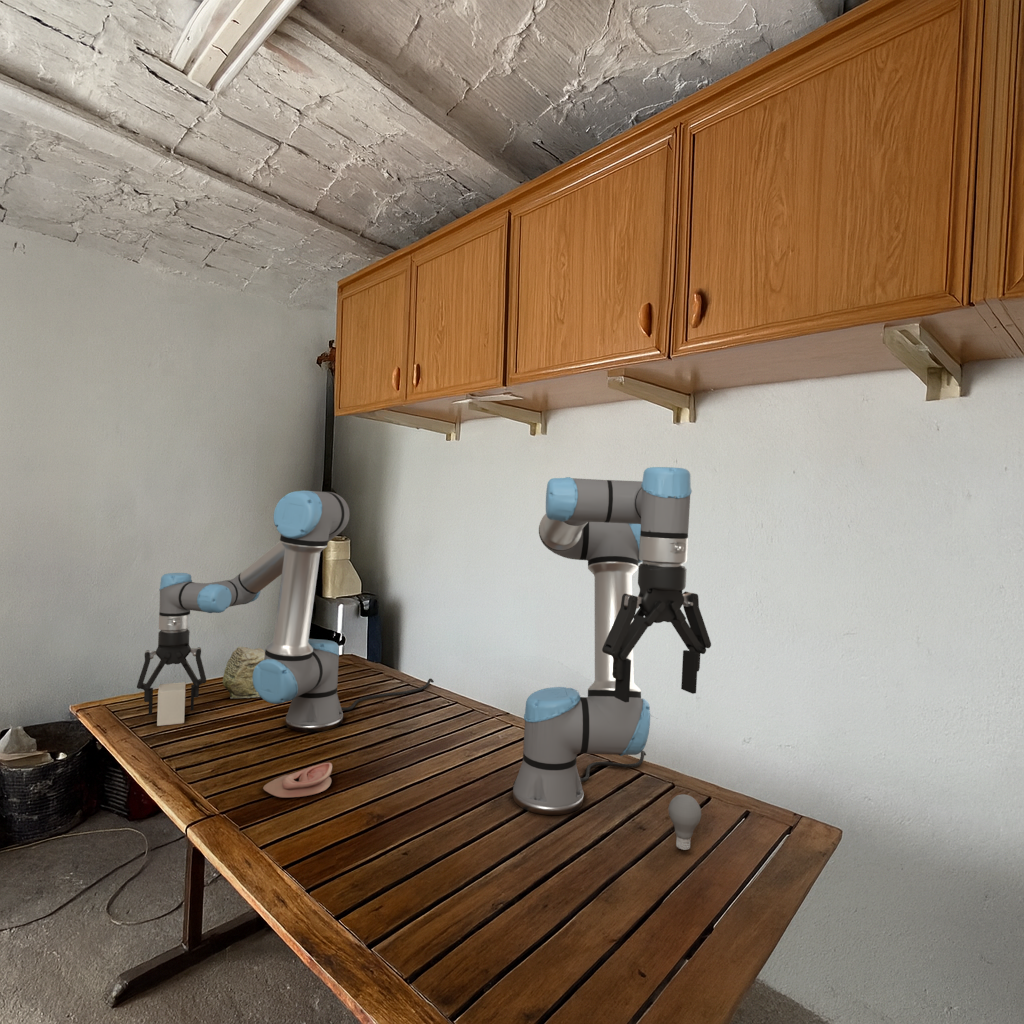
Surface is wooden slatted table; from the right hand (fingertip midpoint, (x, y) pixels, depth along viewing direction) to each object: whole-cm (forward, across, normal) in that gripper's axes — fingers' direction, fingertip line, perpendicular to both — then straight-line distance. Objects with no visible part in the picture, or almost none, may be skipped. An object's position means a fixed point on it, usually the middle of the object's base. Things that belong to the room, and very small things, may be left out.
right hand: (656, 695), depth 102 cm
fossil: (+34, -48, +131) cm, 144 cm away
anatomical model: (+34, -45, +62) cm, 84 cm away
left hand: (+31, -71, +116) cm, 139 cm away
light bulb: (+34, +17, +10) cm, 39 cm away
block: (+34, -71, +116) cm, 140 cm away
